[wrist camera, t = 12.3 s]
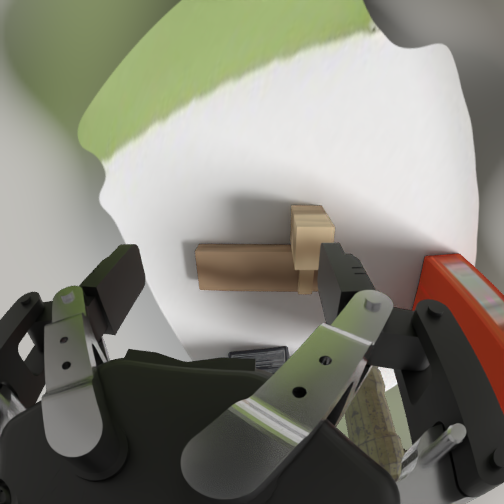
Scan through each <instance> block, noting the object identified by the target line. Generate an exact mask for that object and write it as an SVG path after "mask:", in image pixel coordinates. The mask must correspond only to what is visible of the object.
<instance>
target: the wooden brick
mask: <svg viewBox="0 0 504 504" xmlns="http://www.w3.org/2000/svg"><path fill="white" fill-rule="evenodd" d="M334 233H335V227H334V225H333V223H332V222H331V220H330V218H329V217H328V215H327V213H326V212H325V210H324V209H323V207H322V206H311V205H291V232H290V243H291V249H292V255H293V261H294V268H295V270H299V280H298V294H312V287H313V277H314V270H318V267H319V256H320V246H321V243H334Z"/></svg>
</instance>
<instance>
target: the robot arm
mask: <svg viewBox="0 0 504 504" xmlns="http://www.w3.org/2000/svg"><path fill="white" fill-rule="evenodd" d="M317 282H318V291H319V295H320V299H321V303H322V307H323V311H324V316H325V320H326V323H322V324H321V325H320V326H319V327H318V328H317V329H316V330H315V331H314V332H313V333H312V334H311V336H310V337H309V338H308V339H307V340H306V341H305V342H304V343H303V344H302V345H301V346H300V348H299V349H298V350H297V351H296V352H295V353H294V354H293V355H292V356H291V357H290V358H289V359H288V360H287V361H286V362H285V363H284V364H283V365H282V366H281V367H280V368H279V369H278V370H277V371H276V372H275V374H272V373H270V372H267V371H264V370H260V369H256V359H251V358H215V359H208V360H200V361H192V362H183V361H180V360H177V359H174V358H171V357H168V356H165V355H162V354H159V353H156V352H148V351H139V350H132V349H128V351H127V353H126V356H125V357H124V358H119V359H115V360H110V358H109V355H108V352H107V348H106V345H105V341H104V339H103V337H102V336H103V334H111V335H116V333H117V331H118V329H119V328H120V326H121V324H122V323H123V321H124V319H125V317H126V316H127V314H128V312H129V311H130V309H131V307H132V306H133V304H134V302H135V301H136V299H137V297H138V296H139V294H140V293H141V291H142V290H143V288H144V285H145V273H144V269H143V265H142V261H141V256H140V252H139V248H138V246H137V245H136V244H123V245H120V246H118V248H117V249H116V250H115V251H114V252H113V253H112V254H111V255H110V256H109V257H107V258H105V259H104V260H102V262H101V263H100V264H99V265H98V266H97V268H95V269H94V270H93V272H92V273H91V274H89V276H88V277H87V278H86V279H85V280H84V281H83V282H82V283H81V284H80V285H79V286H70V287H66V288H64V289H62V290H60V291H59V292H58V293H56V295H55V296H54V298H53V301H49V302H42V300H41V297H40V295H39V293H37V292H30V293H27V294H25V295H23V296H22V297H20V298H19V299H18V300H17V301H16V302H15V303H14V305H13V306H12V307H11V308H10V309H9V310H8V311H7V313H6V314H5V315H4V316H3V317H2V319H1V320H0V504H466V503H468V502H470V501H472V500H474V499H476V498H477V497H479V496H481V495H483V494H485V493H487V492H488V491H490V490H492V489H494V488H495V487H497V486H499V485H500V484H502V483H503V482H504V414H503V411H502V409H501V407H500V404H499V402H498V399H497V397H496V395H495V393H494V390H493V388H492V386H491V384H490V382H489V380H488V377H487V375H486V373H485V371H484V369H483V367H482V365H481V363H480V361H479V359H478V358H477V356H476V354H475V352H474V350H473V348H472V346H471V345H470V343H469V341H468V339H467V338H466V336H465V334H464V332H463V331H462V329H461V327H460V326H459V324H458V322H457V321H456V319H455V317H454V316H453V314H452V312H451V311H450V309H449V308H448V307H447V306H446V305H444V304H443V303H441V302H439V301H436V300H431V299H425V300H422V301H420V302H418V304H417V305H416V308H415V311H412V310H406V309H400V308H396V307H393V302H392V300H391V299H390V298H389V297H388V296H387V295H385V294H384V293H382V292H379V291H376V290H375V288H374V286H373V284H372V283H371V281H370V279H369V277H368V275H367V274H366V271H365V270H364V268H363V266H362V264H361V262H360V261H359V260H358V259H357V258H356V257H354V256H353V255H352V254H345V253H344V251H343V249H342V247H341V245H340V243H321V246H320V256H319V267H318V278H317ZM27 332H28V334H29V335H30V338H31V339H32V341H33V343H34V344H35V346H34V347H33V349H32V350H31V352H30V353H29V355H28V356H27V358H26V360H25V361H23V360H22V358H21V357H20V355H19V353H18V345H19V343H20V341H21V340H22V338H23V337H24V336H25V334H26V333H27ZM372 366H378V367H385V368H392V369H394V373H395V376H396V379H397V383H398V387H399V390H400V394H401V397H402V401H403V405H404V409H405V413H406V417H407V422H408V426H409V430H410V435H411V440H412V446H411V447H410V448H409V449H408V450H407V451H406V452H405V454H404V456H403V458H402V462H401V474H400V477H399V479H398V480H397V482H395V480H394V479H393V477H392V476H391V475H390V474H389V472H388V471H386V470H385V469H384V468H383V467H382V466H380V465H379V464H378V463H377V462H376V461H374V460H373V459H372V458H371V457H370V456H368V455H367V454H366V453H365V452H364V451H363V450H361V449H360V448H359V447H358V446H357V445H356V444H354V443H353V442H352V441H351V440H350V439H349V438H348V437H346V436H345V435H344V434H343V433H342V432H341V431H340V430H339V429H337V428H336V426H337V425H338V423H339V422H340V420H341V419H342V417H343V415H344V414H345V412H346V410H347V408H348V406H349V405H350V403H351V401H352V400H353V398H354V396H355V395H356V393H357V392H358V390H359V388H360V387H361V385H362V383H363V382H364V380H365V378H366V376H367V375H368V373H369V371H370V369H371V368H372ZM45 384H46V393H45V394H44V395H43V396H42V400H41V401H39V402H37V403H36V401H37V399H38V397H39V395H40V393H41V391H42V389H43V387H44V386H45ZM35 403H36V404H35Z"/></svg>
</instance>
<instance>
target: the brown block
mask: <svg viewBox="0 0 504 504" xmlns="http://www.w3.org/2000/svg"><path fill="white" fill-rule="evenodd" d="M195 257H196V265H197V273H198V281H199V288H200V290H219V291H277V292H298V280H299V270H295V268H294V261H293V255H292V249H291V245H285V244H199V245H198V247H197V249H196V250H195ZM317 278H318V270H314V277H313V287H312V291H318V282H317Z"/></svg>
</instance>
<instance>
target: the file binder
mask: <svg viewBox="0 0 504 504" xmlns="http://www.w3.org/2000/svg"><path fill="white" fill-rule="evenodd" d="M425 299H431V300H436V301H439V302H441V303H443V304H444V305H446V306H447V307H448V308H449V309H450V311H451V312H452V314H453V316H454V317H455V319H456V321H457V322H458V324H459V326H460V327H461V329H462V331H463V332H464V334H465V336H466V338H467V339H468V341H469V343H470V345H471V346H472V348H473V350H474V352H475V354H476V356H477V358H478V359H479V361H480V363H481V365H482V367H483V369H484V371H485V373H486V375H487V377H488V380H489V382H490V384H491V386H492V388H493V390H494V393H495V395H496V397H497V399H498V402H499V404H500V407H501V409H502V411H503V414H504V295H503V294H502V293H501V292H500V291H499V290H498V289H497V288H496V287H495V286H494V285H493V284H492V283H491V282H490V281H489V280H488V279H487V278H486V277H485V276H484V275H482V274H481V273H480V272H479V271H478V270H477V269H476V268H475V267H474V266H473V265H472V264H471V263H470V262H468V261H467V260H466V259H465V258H464V257H463V256H462V255H461V254H446V255H433V256H426V257H425V258H424V263H423V268H422V272H421V277H420V281H419V285H418V290H417V294H416V297H415V301H414V305H413V309H412V311H415V308H416V305H417V304H418V302H420V301H422V300H425Z"/></svg>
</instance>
